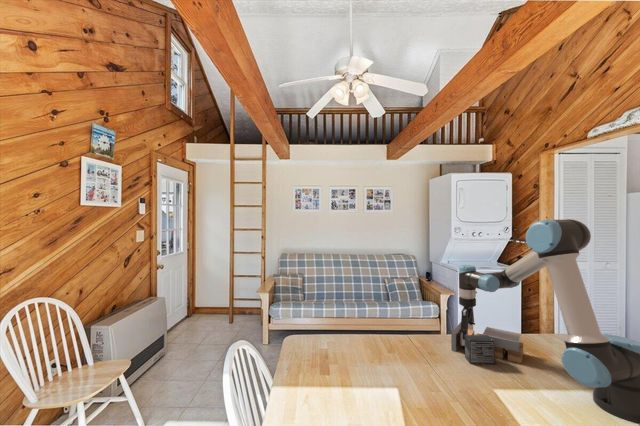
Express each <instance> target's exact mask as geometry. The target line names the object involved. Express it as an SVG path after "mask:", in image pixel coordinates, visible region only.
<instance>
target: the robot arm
mask: <svg viewBox="0 0 640 426" xmlns="http://www.w3.org/2000/svg"><path fill="white" fill-rule="evenodd" d="M591 239H592V236H591V231H590V229H589V227H587V225H586V224H584V223H583V222H581V221H579V220H576V219H572V218H571V219H569V218H567V219H566V218H565V219H551V218H550V219H543V220H538V221H536V222H533V223H532V224H531V225H530V226H529V227H528V229H527V231H526V232H525V242H526V245H527V247H528V248H529V249H530V250H532V251H530V252H529V253H527V254H526V255H525V256H522V258H520V259H518V260H517V261H516V262H514V263H511V265H510V266H507V267H506V268H505V269H503V270H501V271H497V272H496V271H495V272H479V271H477V267H476V266H474V265H471V264H461V265H459V267H458V296H459V297H458V303H459V305H460V306H462V307H463V308H462V310H461V319H460V320H461V321H460V322H461V330H460V332H462V345H463V346H462V345H461V346H462V347H465V335H468V329H469V330H474V326H475V325H476V323H475V317H474V307H476V305H477V298H476V296H477V294H478V291H477V289H478V290H482V291H484V292H489V293H494V292H496V291H498V290H499V289H512V288H515V287H519V285H520V283H521V282H522V281H523V280H525V279H527V278H528V277H530V276H532V275H533V274H536V273H538V272H539V271H541V270H542V269H544V268H547V272H548V275H549V278H550V281H551V284H552V288H553V291H554V294H555V297H556V300H557V305H558V307H559V311H560V313H561V316H562V320H563V323H564V326H565V329H566V334H567V335H566V336H565V338H564V340H563V341H564V345H565V347H566V349H564V351H562V354H561V363H562V365H563V368H564V370H565V371H566V372H567V374H568V376H569V375H570V377H571V378H573V379H574V380H575V381H576V382H577V383H579V384H581V385H582V386H585V387H587V388H591V389H592V388H593V391H592V400H593V402H594V404H596V406H598V407H599V408H600V409H602V410H603V411H605V412H607V413H608V414H611V415H614V416H616V417H618V418H621V419H624V420H627V421H629V422H635V423H638V424H639V423H640V341H637V340H633V339H631V338H627V337H624V336H619V335H614V334H608V333H602V332H601V329H600V326H599V324H598V321H597V318H596V315H595V312H594V309H593V306H592V303H591V300H590V298H589V297H590V296H589V294H588V291H587V288H586V285H585V283H584V279H583V277H582V273H581V271H580V268H579V265H578V262H577V258H578V257H579V256H580V255H581V254H580V251H582V250H583V249H584V248H586V247H587V246H588V245H589V244H590V242H591ZM463 329H464V330H463Z"/></svg>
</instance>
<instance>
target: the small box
mask: <svg viewBox="0 0 640 426" xmlns="http://www.w3.org/2000/svg"><path fill="white" fill-rule="evenodd" d="M464 358H465V360H466V361H467V362H468V363H469V364H470V365H490V366H491V365H494V366H495V365H496V360H495V359H496V357H495V351H494V340H493V339H492V338H491V337H489V336H488V335H476V334H474V335H465V346H464Z"/></svg>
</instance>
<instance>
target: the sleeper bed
mask: <svg viewBox="0 0 640 426" xmlns="http://www.w3.org/2000/svg"><path fill="white" fill-rule="evenodd" d="M482 334H483V333H476V334H475V335H482ZM506 350H507V361H509V362H512V363H513V362H514V363H519V364H522V361H523V358H524V343H523V342H521V343H520V347H519V351H518V352H517V351H513V350H509V349H504V348H500V347H495V346H494V351H495V358H496V359H497V358H498V359H501V360H504V359H503V358H504V356H505V353H506Z"/></svg>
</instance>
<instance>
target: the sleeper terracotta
mask: <svg viewBox="0 0 640 426" xmlns="http://www.w3.org/2000/svg"><path fill="white" fill-rule="evenodd" d="M468 335H475V330H474V329H473V330H469V329H468ZM460 346H462V347H464V346H463V345H462V335H461V345H460Z"/></svg>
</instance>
